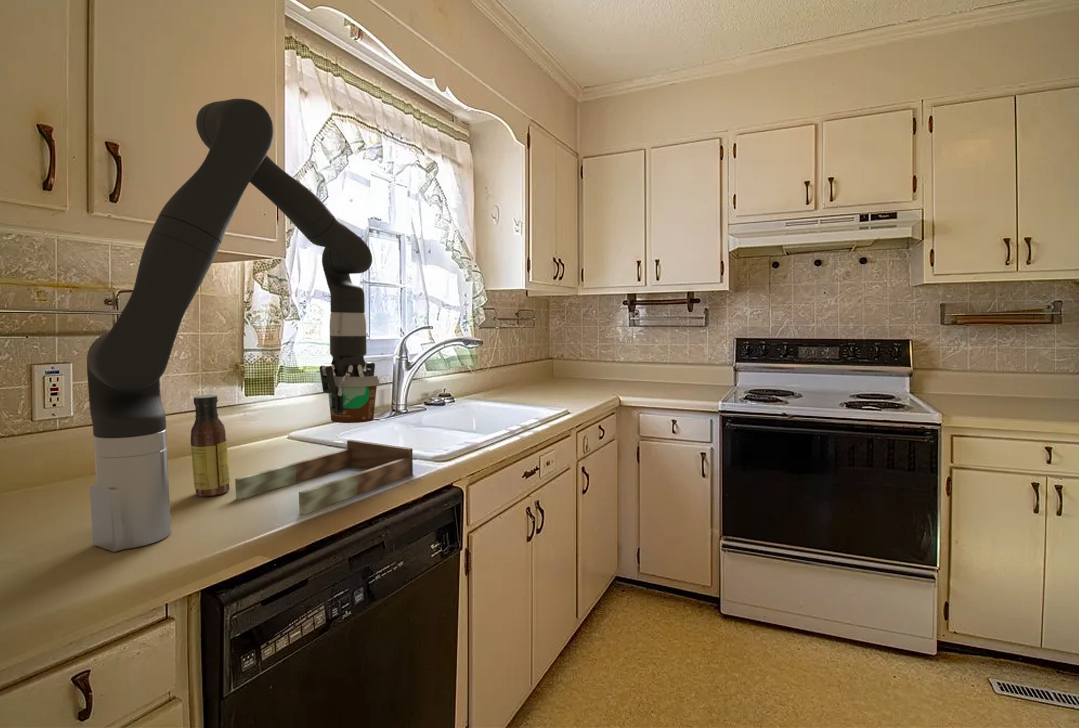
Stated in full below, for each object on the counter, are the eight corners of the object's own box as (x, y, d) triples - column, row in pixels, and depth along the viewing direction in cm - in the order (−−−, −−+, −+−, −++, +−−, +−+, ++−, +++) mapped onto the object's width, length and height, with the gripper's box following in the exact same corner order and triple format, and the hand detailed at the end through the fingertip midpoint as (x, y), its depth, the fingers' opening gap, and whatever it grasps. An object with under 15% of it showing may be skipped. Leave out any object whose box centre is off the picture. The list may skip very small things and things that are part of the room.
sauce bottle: (222, 486, 116) (219, 392, 114) (235, 492, 112) (232, 395, 110) (187, 493, 111) (183, 395, 109) (199, 500, 107) (195, 398, 105)
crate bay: (303, 514, 99) (303, 482, 99) (235, 498, 108) (234, 468, 107) (412, 474, 126) (412, 448, 126) (351, 463, 134) (350, 439, 134)
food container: (312, 422, 118) (312, 375, 118) (328, 418, 124) (328, 373, 124) (365, 425, 116) (366, 378, 115) (379, 420, 122) (379, 375, 121)
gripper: (334, 334, 111) (336, 417, 113) (384, 334, 124) (385, 408, 125) (308, 334, 115) (310, 414, 116) (359, 333, 127) (360, 405, 129)
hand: (349, 410), depth 121 cm, fingers closed on food container, 5 cm apart
